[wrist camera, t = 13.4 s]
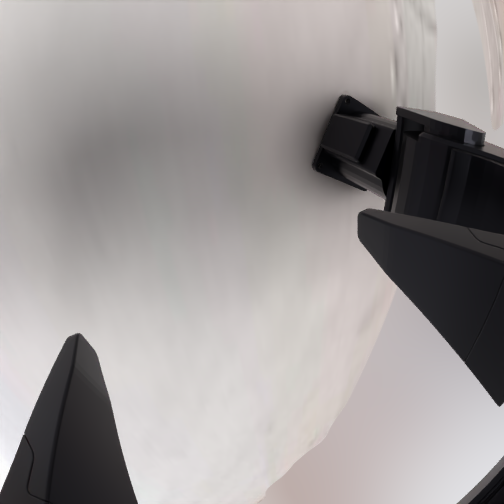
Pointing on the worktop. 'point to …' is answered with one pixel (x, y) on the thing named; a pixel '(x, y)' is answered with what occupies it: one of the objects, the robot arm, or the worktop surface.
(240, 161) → the worktop surface
